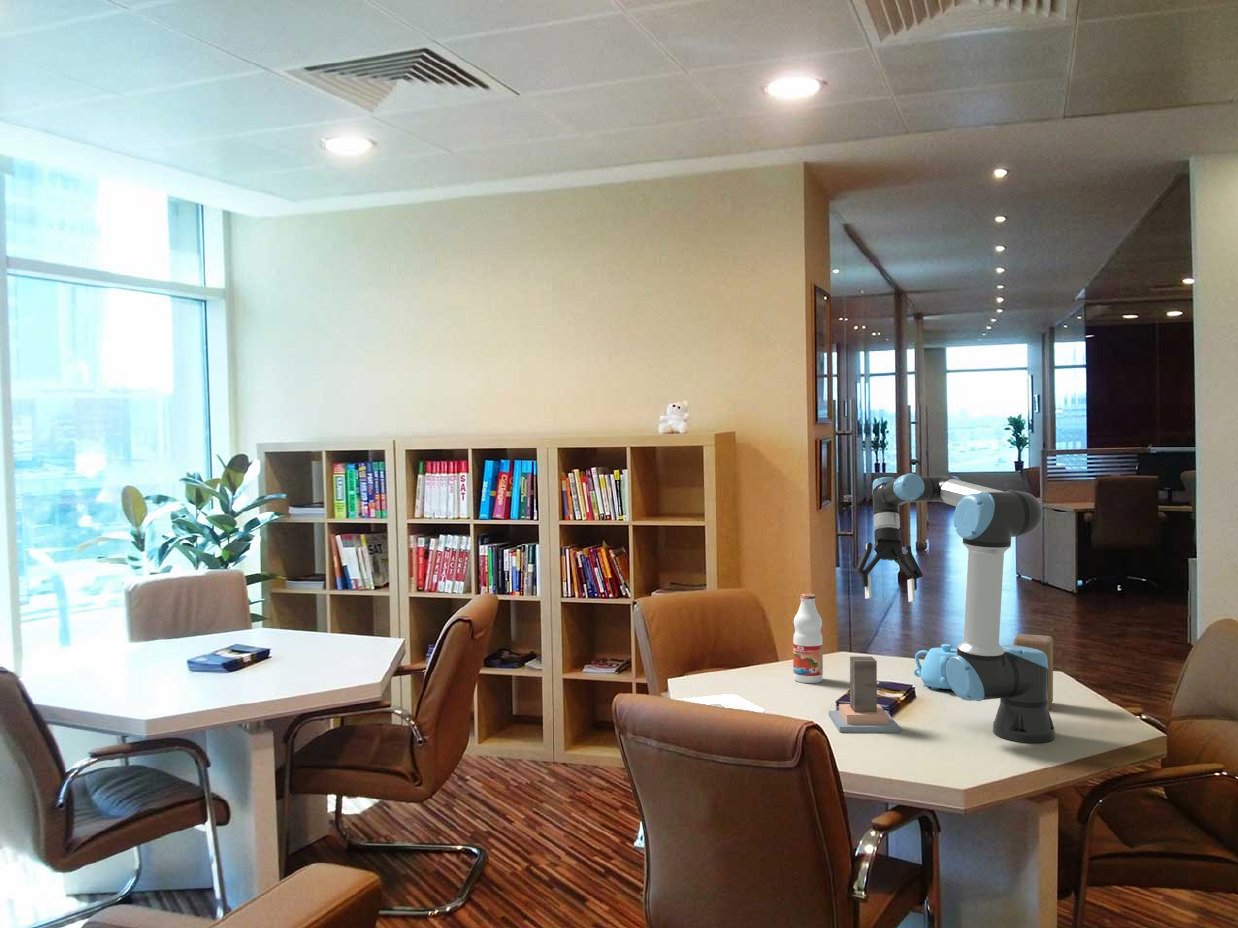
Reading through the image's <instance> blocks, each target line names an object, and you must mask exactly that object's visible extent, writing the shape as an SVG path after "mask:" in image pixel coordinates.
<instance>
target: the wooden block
mask: <svg viewBox="0 0 1238 928" xmlns="http://www.w3.org/2000/svg"><path fill="white" fill-rule="evenodd" d="M1013 645H1016V646H1023V647H1029V648H1033V649H1037V650H1040V651H1043V652H1044V653H1045V654H1046V655H1047V663H1048V710H1050V709H1051V707H1052V704H1053V701H1054V639H1053V637H1052V636H1051V635H1041V634H1029V633H1018V634H1016V636H1015V638H1014V640H1013Z"/></svg>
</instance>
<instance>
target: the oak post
mask: <svg viewBox="0 0 1238 928" xmlns="http://www.w3.org/2000/svg"><path fill="white" fill-rule="evenodd" d="M877 662H878V661H877V660H876V659H875V658H874V657H873V656H872V655H871V656H869V655H867V656H866V655H864V656H862V655H861V656H854V655H853V656H849V704H850V707H851V708H852V710H853V711H854V712H877V704H878V702H877V699H878V691H877V690H878V689H877V688H878V687H877V686H878V685H877V684H878V679H877V677H878V675H877V670H878V669H877V664H878V663H877Z"/></svg>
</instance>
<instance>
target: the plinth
mask: <svg viewBox="0 0 1238 928" xmlns="http://www.w3.org/2000/svg"><path fill="white" fill-rule="evenodd" d="M828 717H829V718H830V720H831V721H832V723H833V724H834V726H835V727H836V729H837V731H838V732H839V733H901V730H900V729H901V726H900V725H899V724H898V723H897V722H896V721H895V719H894V718H893V717H892V716H891V715H890V714H889V712H887V710H884V709H883V707H882V706H881V705H880V704H878V703H877V712H854V711H853V710H852V708H851V707H850V703H839V704H838V710H828Z"/></svg>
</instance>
